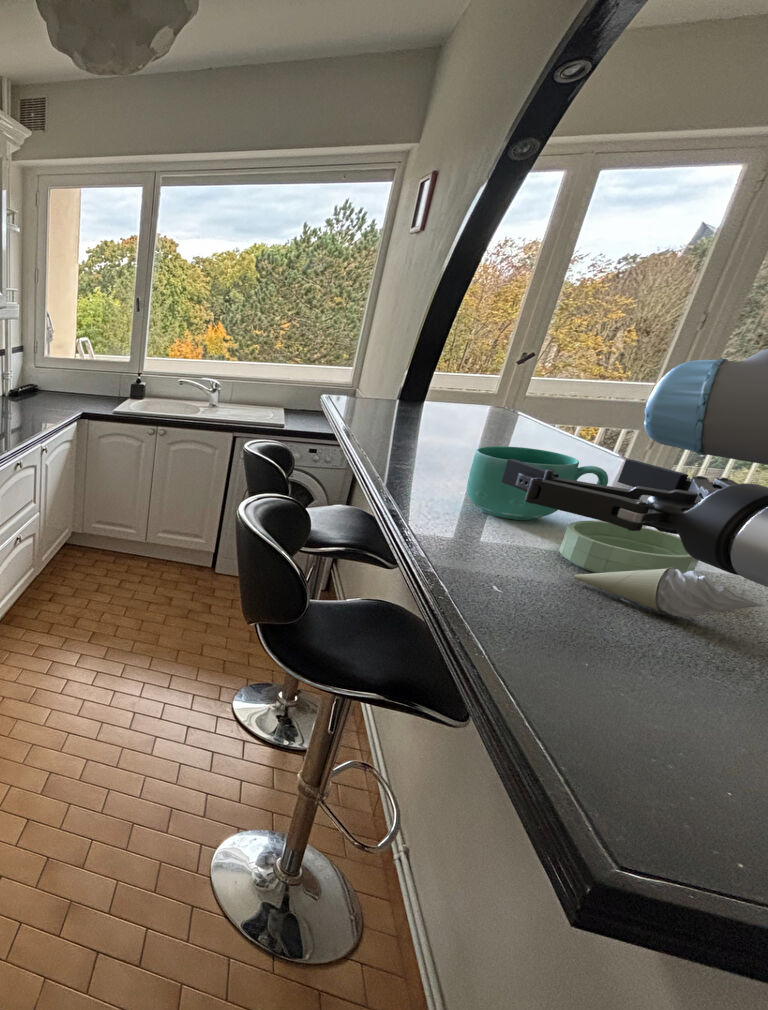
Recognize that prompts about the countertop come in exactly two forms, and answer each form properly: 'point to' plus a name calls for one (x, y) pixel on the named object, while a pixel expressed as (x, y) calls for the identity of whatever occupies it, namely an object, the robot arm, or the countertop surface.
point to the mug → (509, 499)
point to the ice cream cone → (669, 591)
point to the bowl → (623, 548)
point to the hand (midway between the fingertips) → (565, 470)
